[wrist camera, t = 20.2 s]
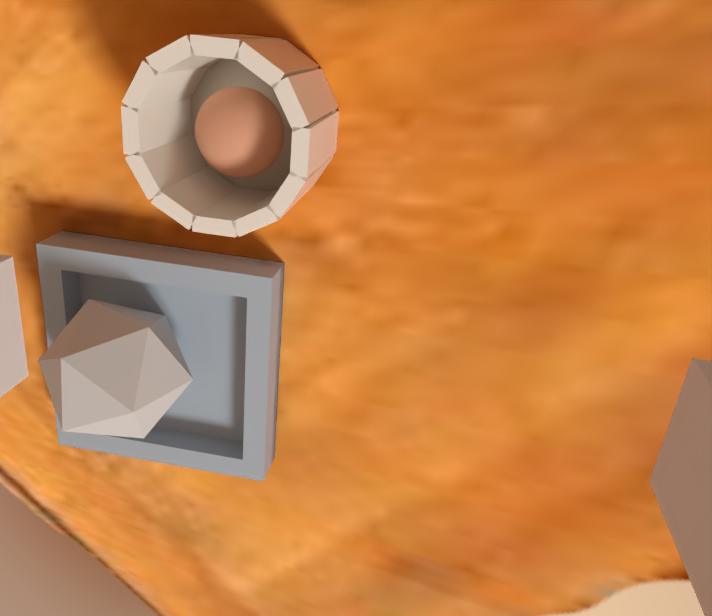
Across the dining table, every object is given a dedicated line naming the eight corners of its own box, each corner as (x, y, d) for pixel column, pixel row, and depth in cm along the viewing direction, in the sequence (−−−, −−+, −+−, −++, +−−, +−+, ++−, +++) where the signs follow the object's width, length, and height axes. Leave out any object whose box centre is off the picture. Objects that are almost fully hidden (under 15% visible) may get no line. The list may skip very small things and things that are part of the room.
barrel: (183, 27, 38) (116, 26, 31) (344, 45, 37) (315, 47, 30) (185, 189, 42) (127, 222, 35) (331, 209, 41) (302, 247, 34)
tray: (61, 230, 45) (35, 243, 42) (284, 262, 43) (272, 278, 40) (80, 422, 51) (58, 444, 48) (274, 456, 50) (263, 481, 47)
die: (143, 331, 50) (50, 435, 45) (95, 253, 43) (-22, 367, 38) (229, 372, 47) (139, 489, 42) (192, 295, 40) (78, 425, 35)
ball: (215, 79, 38) (179, 83, 34) (296, 89, 37) (270, 94, 33) (214, 163, 40) (180, 178, 36) (292, 174, 39) (266, 190, 35)
